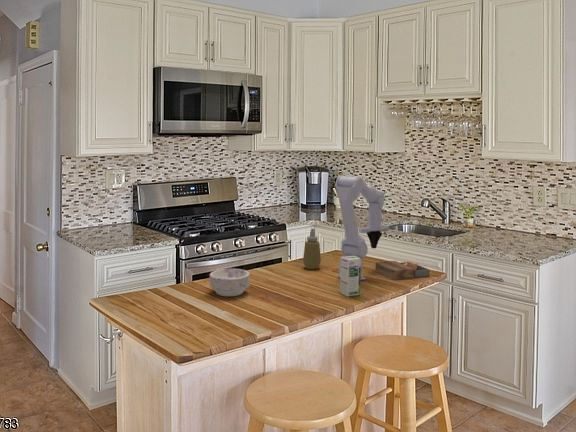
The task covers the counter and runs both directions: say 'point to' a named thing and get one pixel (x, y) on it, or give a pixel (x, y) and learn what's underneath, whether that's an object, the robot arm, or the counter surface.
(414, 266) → the tile near
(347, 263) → the syrup box
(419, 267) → the tray
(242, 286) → the marbled grey bowl
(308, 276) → the counter surface
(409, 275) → the brown flat block
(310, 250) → the squeeze bottle
